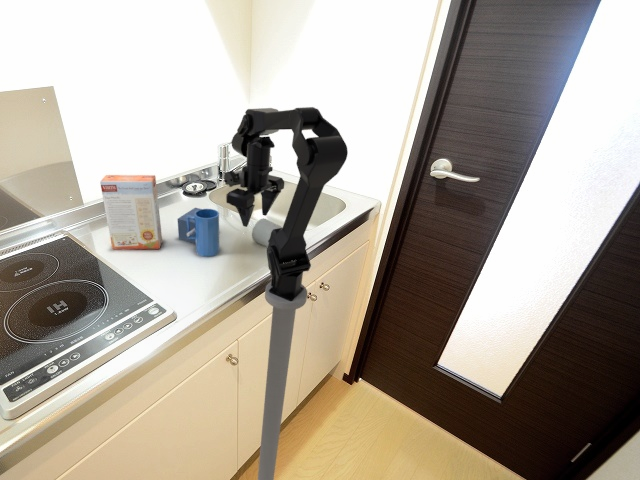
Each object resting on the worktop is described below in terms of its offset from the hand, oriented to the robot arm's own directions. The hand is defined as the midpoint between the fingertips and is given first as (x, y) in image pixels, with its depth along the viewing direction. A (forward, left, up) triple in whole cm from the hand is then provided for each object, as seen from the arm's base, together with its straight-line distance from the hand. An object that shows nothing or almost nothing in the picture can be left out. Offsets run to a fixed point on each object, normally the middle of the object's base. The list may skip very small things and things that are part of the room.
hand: (255, 220), depth 98 cm
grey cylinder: (+1, -11, -12) cm, 16 cm away
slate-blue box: (+22, +2, -12) cm, 25 cm away
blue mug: (+15, +5, -12) cm, 20 cm away
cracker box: (+32, +15, -12) cm, 37 cm away
